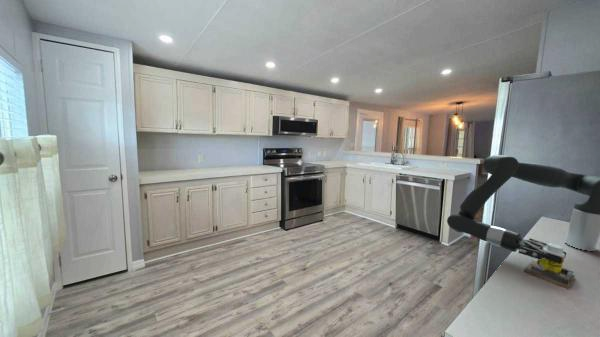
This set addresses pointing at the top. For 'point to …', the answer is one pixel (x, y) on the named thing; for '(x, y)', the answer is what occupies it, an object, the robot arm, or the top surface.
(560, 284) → the notched cradle board
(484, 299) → the top surface
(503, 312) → the top surface
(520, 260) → the top surface
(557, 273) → the supplement bottle
